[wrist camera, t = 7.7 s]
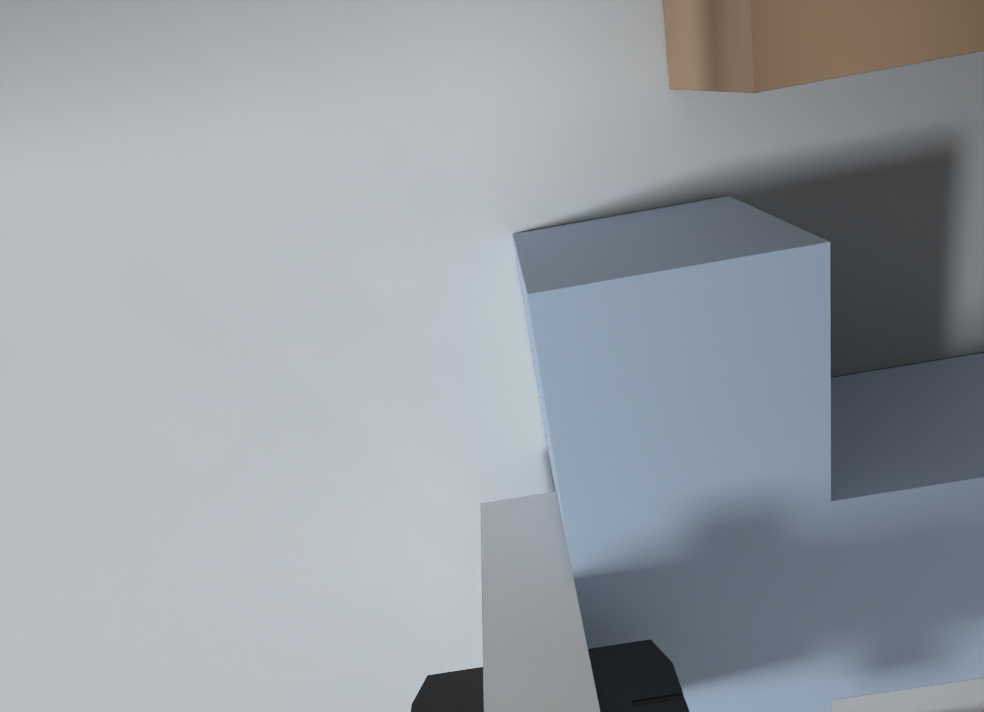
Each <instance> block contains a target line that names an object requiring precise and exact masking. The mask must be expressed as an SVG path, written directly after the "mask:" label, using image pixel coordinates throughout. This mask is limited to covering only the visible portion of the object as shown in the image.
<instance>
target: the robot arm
mask: <svg viewBox="0 0 984 712" xmlns="http://www.w3.org/2000/svg"><path fill="white" fill-rule="evenodd" d="M481 561H482V626H483V667H480V668H474V669H467V670H460V671H454V672H447V673H441V674H434V675H428V676H427V678H426V679H425V681H424V683H423V685H422V687H421V689H420V690H419V692H418V694H417V696H416V698H415V700H414V701H413V703H412V708H411V712H689V709H688V706H687V703H686V700H685V699H684V696H683V691H682V688H681V686H680V683H679V680H678V677H677V674H676V671H675V668H674V665H673V663H672V662H671V660H670V659H669V658H668V657H667V656H666V655H665V654H664V653H663V652H662V651H661V650H660V649H659V648H658V647H657V646H656V645H655V644H654V642H653V641H652V640H651V639H649V640H643V641H636V642H630V643H623V644H617V645H610V646H604V647H597V648H591V649H588V648H587V643H586V638H585V633H584V628H583V623H582V618H581V613H580V608H579V603H578V598H577V593H576V588H575V583H574V579H573V574H572V569H571V564H570V559H569V554H568V549H567V544H566V539H565V534H564V529H563V524H562V519H561V514H560V509H559V504H558V498H557V493H556V492H550V493H544V494H537V495H531V496H525V497H519V498H513V499H507V500H500V501H494V502H488V503H482V504H481Z"/></svg>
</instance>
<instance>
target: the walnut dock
mask: <svg viewBox="0 0 984 712" xmlns="http://www.w3.org/2000/svg"><path fill="white" fill-rule="evenodd" d="M663 8H664V20H665V33H666V46H667V58H668V71H669V83H670V89H674V90H698V91H721V92H744V93H757V92H762V91H768V90H773V89H778V88H784V87H789V86H795V85H800V84H806V83H811V82H817V81H822V80H827V79H833V78H838V77H844V76H849V75H855V74H860V73H866V72H871V71H876V70H882V69H887V68H893V67H898V66H904V65H909V64H914V63H920V62H925V61H931V60H936V59H942V58H947V57H953V56H958V55H963V54H969V53H974V52H980V51H984V0H663Z"/></svg>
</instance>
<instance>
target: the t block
mask: <svg viewBox="0 0 984 712" xmlns="http://www.w3.org/2000/svg"><path fill="white" fill-rule="evenodd" d="M513 239H514V245H515V251H516V257H517V264H518V270H519V276H520V282H521V288H522V294H523V300H524V306H525V312H526V318H527V325H528V331H529V337H530V343H531V349H532V355H533V361H534V367H535V373H536V379H537V386H538V392H539V398H540V404H541V410H542V416H543V422H544V428H545V434H546V440H547V447H548V453H549V459H550V465H551V471H552V477H553V483H554V489H555V492H556V493H557V498H558V504H559V509H560V514H561V519H562V524H563V529H564V534H565V539H566V544H567V549H568V554H569V559H570V564H571V569H572V574H573V579H574V583H575V588H576V593H577V598H578V603H579V608H580V613H581V618H582V623H583V628H584V633H585V638H586V643H587V648H588V649H591V648H597V647H604V646H610V645H617V644H623V643H630V642H636V641H643V640H649V639H651V640H652V641H653V642H654V644H655V645H656V646H657V647H658V648H659V649H660V650H661V651H662V652H663V653H664V654H665V655H666V656H667V657H668V658H669V659H670V660H671V662H672V663H673V665H674V668H675V671H676V674H677V677H678V680H679V683H680V686H681V688H682V691H683V696H684V699H685V700H686V703H687V706H688V709H689V712H831V700H836V699H843V698H850V697H857V696H864V695H870V694H877V693H884V692H891V691H898V690H904V689H911V688H918V687H925V686H932V685H938V684H945V683H952V682H959V681H966V680H972V679H979V678H984V353H979V354H973V355H967V356H961V357H955V358H949V359H943V360H936V361H930V362H924V363H918V364H912V365H906V366H900V367H894V368H888V369H882V370H876V371H870V372H864V373H858V374H852V375H846V376H840V377H834V378H831V281H830V241H828V240H825V239H823V238H821V237H819V236H817V235H814V234H812V233H810V232H808V231H805V230H803V229H801V228H799V227H797V226H794V225H792V224H790V223H788V222H786V221H783V220H781V219H779V218H777V217H775V216H772V215H770V214H768V213H766V212H764V211H761V210H759V209H757V208H755V207H752V206H750V205H748V204H746V203H744V202H741V201H739V200H737V199H735V198H733V197H730V196H725V197H719V198H714V199H708V200H702V201H697V202H691V203H685V204H680V205H674V206H668V207H663V208H657V209H651V210H646V211H640V212H634V213H629V214H623V215H617V216H612V217H606V218H600V219H595V220H589V221H584V222H578V223H572V224H567V225H561V226H555V227H550V228H544V229H538V230H533V231H527V232H521V233H516V234H513Z"/></svg>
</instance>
